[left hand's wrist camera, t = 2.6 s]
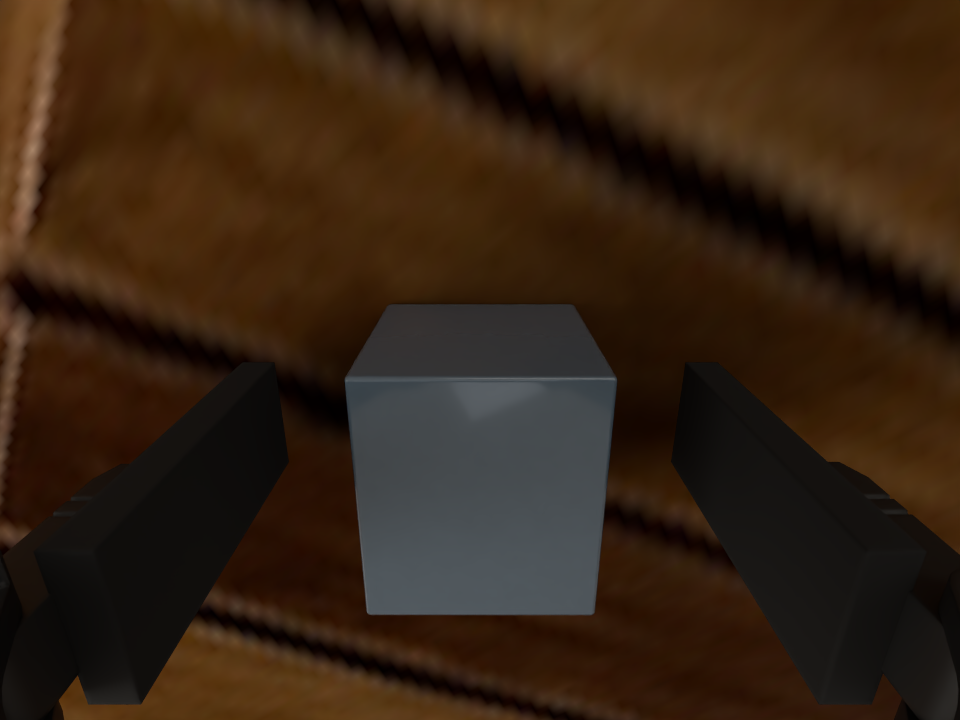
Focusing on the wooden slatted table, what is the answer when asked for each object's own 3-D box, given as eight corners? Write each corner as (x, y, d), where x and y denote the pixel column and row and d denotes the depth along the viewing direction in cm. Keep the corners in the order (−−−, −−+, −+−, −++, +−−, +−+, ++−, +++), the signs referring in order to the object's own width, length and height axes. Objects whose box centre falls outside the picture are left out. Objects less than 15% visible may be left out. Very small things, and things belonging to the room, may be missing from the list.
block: (574, 303, 13) (618, 377, 9) (562, 484, 15) (595, 617, 11) (387, 303, 13) (342, 377, 9) (398, 484, 15) (365, 616, 11)
